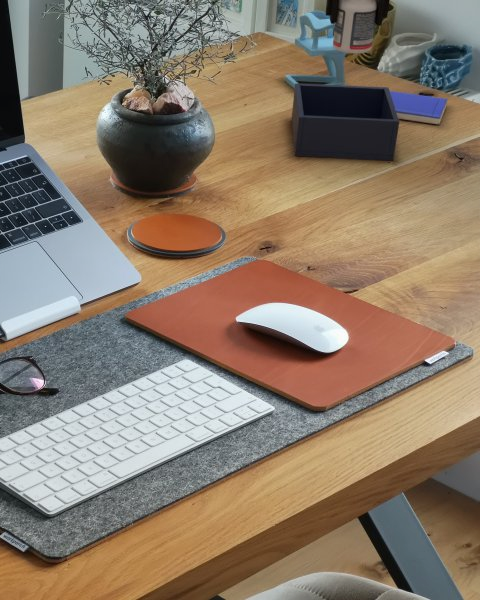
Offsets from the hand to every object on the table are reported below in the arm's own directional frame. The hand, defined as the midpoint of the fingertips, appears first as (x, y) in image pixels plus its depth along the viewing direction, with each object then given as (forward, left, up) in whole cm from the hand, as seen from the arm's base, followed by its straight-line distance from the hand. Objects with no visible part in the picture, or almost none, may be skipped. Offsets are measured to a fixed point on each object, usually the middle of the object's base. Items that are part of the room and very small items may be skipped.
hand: (355, 20), depth 151 cm
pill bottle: (0, 0, -4) cm, 4 cm away
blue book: (-10, -13, -18) cm, 24 cm away
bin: (0, 0, -17) cm, 17 cm away
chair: (+2, -22, -18) cm, 28 cm away
